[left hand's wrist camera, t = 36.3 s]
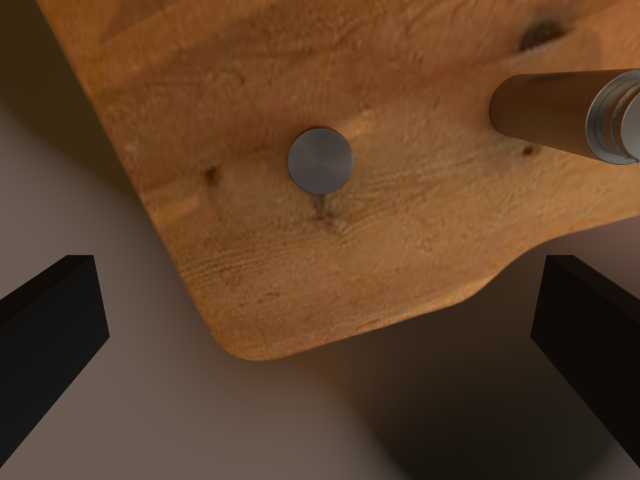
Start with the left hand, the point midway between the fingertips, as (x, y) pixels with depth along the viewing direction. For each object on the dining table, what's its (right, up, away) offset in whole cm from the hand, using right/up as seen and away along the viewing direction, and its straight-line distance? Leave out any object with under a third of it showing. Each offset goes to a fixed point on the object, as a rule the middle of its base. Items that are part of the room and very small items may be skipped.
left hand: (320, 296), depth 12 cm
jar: (+17, +13, +24) cm, 32 cm away
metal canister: (0, +8, +23) cm, 25 cm away
